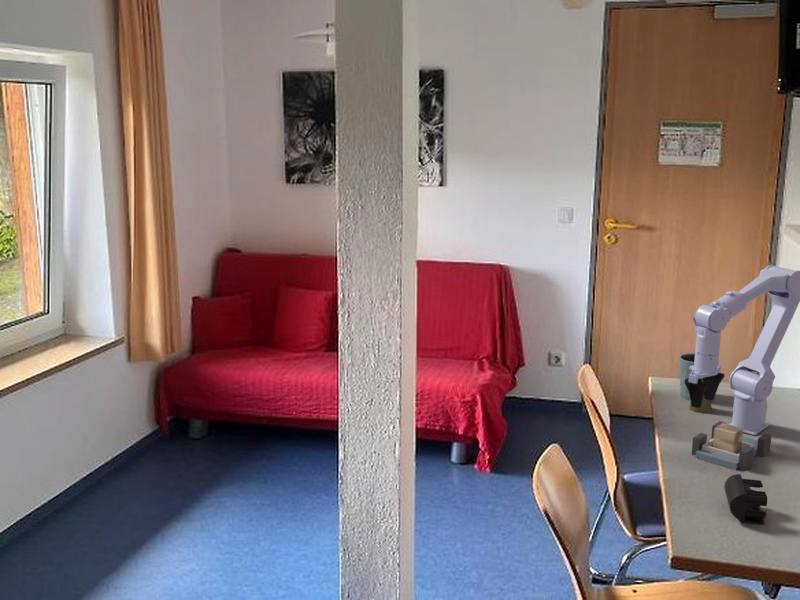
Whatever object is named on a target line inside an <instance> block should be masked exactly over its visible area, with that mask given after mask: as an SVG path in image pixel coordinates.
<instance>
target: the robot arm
mask: <svg viewBox="0 0 800 600" xmlns="http://www.w3.org/2000/svg"><path fill="white" fill-rule="evenodd" d="M766 293H767V295H768V296H769V297H770V298H771V299H772V302H773V306H772V308H771V311H770V313H769V315H768V317H767V320H766V321H765V324H764V326H763V327H762V329H761V332H760V334H759V336H758V339H757V340H756V343H755V345H754V346H753V347H754V348H753V349H752V351H751V354H750V356H749V357H748V358H746V359H743V360H742V361H739V362H738V364H737V366H736V368H735V369H734V370H733V371H732V372H731V374H730V376H729V379H728V384H729V387H730V388H731V390H732V394H733V395H734V397H733V409H732V419H731V422H730V423H728V424H729V425H733V426H737V427H740V428H743V434H749V435H751V436H757V434H759V433H761V432H762V431H764V430H765V429H766V428H768V427H769V423H766V420H767V419H766V417H767V411H768V409H767V408H768V401H767V398H768V397H769V396H770V395H771V393H772V391H773V385H774V384H773V383H774V380H775V379H776V375H775V373H774V372H773V370H772V368H771V365H772V362H773V360H774V358H775V356H776V354H777V352H778V349H779V348H780V345H781V344H782V341H783V339H784V336H785V335H786V333H787V330H788V328H789V326H790V324H791V322H792V320H793V317H794V315H795V314H796V311H797V308H798V306H799V304H800V270H794V269H790V268H785V267H780V266H776V265H775V264H770V265H767V266H766V267H765V268H763V269H761V270H760V271H759V275H758V276H757V277H756V278H755V279H753V280H752V281H750V282H749V283H748V284H747V285H746V286H743V288H741V289H740V290H739V291H736V290H728V291H726V292H725V295H722V296H721V297H719V298H718V299H716V300H713V301H711V303H710V304H708V305H707V304H703V305H701V306H699V307H697V308H696V310H695V312H694V315H692V321H693V324H694V326H695V328H694V331H695V333H696V336H695V337H696V338H695V348H694V349H695V350H694V351H695V352H694V353H695V360H694V365H692V366H690V367H689V369H690V370H692V372H691V374H690V375H689V378H687V379H685V385H686V386H687V389H688V391H689V395H690V400H691V401H690V400H689V401H690V403H691V406H692V407H696V408H700V407H701V404H702V400H703V396H704V398H705V399H707V400H711V402H712V401H714V400H715V397H716V395H717V392H718V388H719V387H720V385H721V383H722V381H723V379H724V378H725V373H723V372H722V363H719V360H720V359H719V357H720V350H721V349H720V345H721V337H722V331H723V330H724V329H726V327H727V325H728V323H729V322H730V321H731V319H733V318H734V317H736V316H737V315H738V314H740V313H741V312H743V311H745V310H746V308H747V304H748V303H749V302H751V301H753V300H755V299H757V298H758V297H760V296H763V295H764V294H766ZM702 378H703V383H702V381H701V379H702Z"/></svg>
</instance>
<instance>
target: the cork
mask: <svg viewBox="0 0 800 600" xmlns="http://www.w3.org/2000/svg"><path fill="white" fill-rule="evenodd" d="M701 381H702V383H703V378H702V379H701ZM688 407H689V410H690V411H692V412H694V413H699V414H709V413H711V412H712V401H711V400H707V399H705V398H704V396H703V400H702V404H701V407H700V408H696V407H692V406H691V402H690V404H689V406H688Z"/></svg>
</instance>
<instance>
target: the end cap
mask: <svg viewBox="0 0 800 600" xmlns="http://www.w3.org/2000/svg"><path fill="white" fill-rule="evenodd" d="M752 488H757V489H758V488H759V489H761V488H764V485H763V483H762V480H760V479H750V478H749V479H748V478H743V476H742V475H741V474H740V473H739V474H738V473H737V474H733V475H730V476H729V477H727V479H726V480H725V482H724V492H725V496H726V500H727V504H728V507H729V510H730V513H731V514H732V516H733V517H734V518H735V519H736V520H738V522H740V523H743V524H751V525H759V526H764V525H765V519H766V515H767V511H765V510H761V508H760V507H767V506H768V496H767V493H766V491H761V490H754V489H752Z"/></svg>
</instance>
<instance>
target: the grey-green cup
mask: <svg viewBox="0 0 800 600" xmlns="http://www.w3.org/2000/svg"><path fill="white" fill-rule="evenodd" d="M694 360H695V352H694V353H692V352H689V353H684V354H681V355H680V356H679V383H680V384H679V385H680V388H679V390H680V391H679V392H680V393H679V395H680V397H681V398H682V399H685V400H686V401H689V402H691V400H690V395H689V391H688V389H687V386H686V385H685V379H687V378H689V375H690V374H691V372H692V370H690V369H689V367H690V366H692V365H694Z"/></svg>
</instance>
